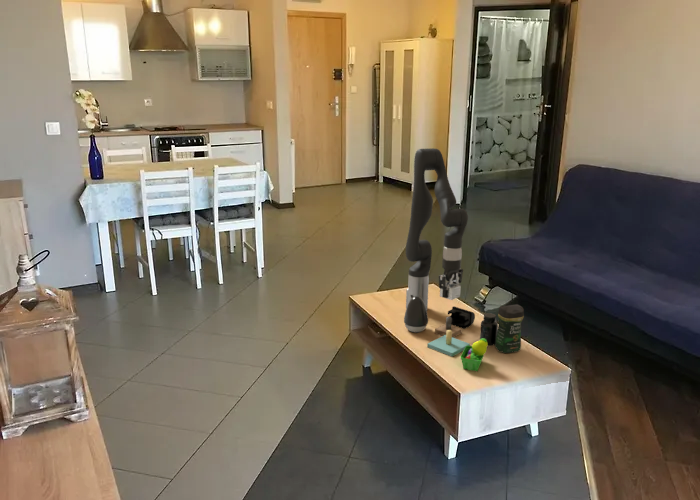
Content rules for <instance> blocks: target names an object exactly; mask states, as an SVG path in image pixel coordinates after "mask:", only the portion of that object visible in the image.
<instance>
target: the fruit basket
mask: <svg viewBox="0 0 700 500" xmlns="http://www.w3.org/2000/svg"><path fill="white" fill-rule="evenodd" d="M487 347H488V343H487V340H486V339H483V338H482V339H480V338H479V340H477V341H475V342H473V343H472V345H470V346H466V347H465V349H464V350H463V351H462V353H461V355H460V360H461V363H462V368H463V370H467V371H468V370H469V371H474V372H478V370H479V368H480V366H481V364H482V361H483V358H484V357H485V356H484V355H485V354H486V352H487V349H488V348H487Z"/></svg>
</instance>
